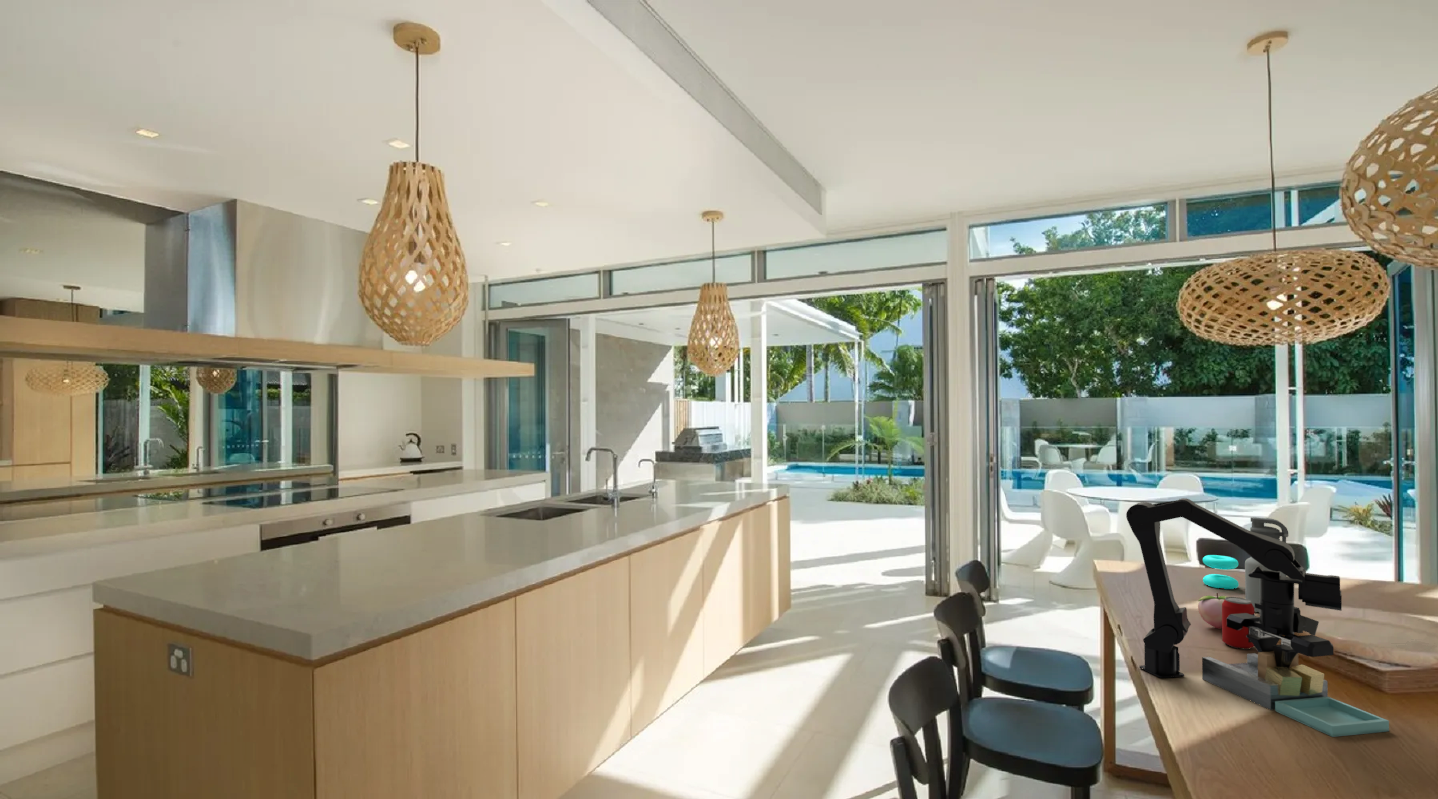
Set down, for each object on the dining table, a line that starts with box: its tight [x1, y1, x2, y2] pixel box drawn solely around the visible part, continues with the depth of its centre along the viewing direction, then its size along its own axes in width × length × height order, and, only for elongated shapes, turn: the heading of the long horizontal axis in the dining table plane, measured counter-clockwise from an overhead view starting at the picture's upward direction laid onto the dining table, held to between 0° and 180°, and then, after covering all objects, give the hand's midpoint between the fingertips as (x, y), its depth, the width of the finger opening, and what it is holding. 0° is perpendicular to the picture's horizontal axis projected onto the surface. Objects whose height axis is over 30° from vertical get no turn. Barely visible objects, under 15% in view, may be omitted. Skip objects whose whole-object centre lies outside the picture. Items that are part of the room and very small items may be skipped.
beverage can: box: [1221, 596, 1256, 650], centre depth 176 cm, size 7×7×12 cm
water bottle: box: [1244, 516, 1289, 614], centre depth 206 cm, size 10×10×28 cm
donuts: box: [1202, 554, 1240, 590], centre depth 234 cm, size 10×10×10 cm
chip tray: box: [1274, 696, 1390, 738], centre depth 134 cm, size 13×11×2 cm
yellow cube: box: [1289, 664, 1325, 695], centre depth 141 cm, size 4×4×4 cm
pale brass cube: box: [1265, 666, 1302, 696], centre depth 140 cm, size 4×4×4 cm
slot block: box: [1201, 652, 1329, 711], centre depth 147 cm, size 14×16×5 cm
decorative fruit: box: [1197, 592, 1228, 630], centre depth 190 cm, size 9×8×10 cm
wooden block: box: [1257, 651, 1299, 679], centre depth 144 cm, size 8×2×6 cm, turn 101°
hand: (1276, 673), depth 144 cm, fingers closed on wooden block, 2 cm apart
